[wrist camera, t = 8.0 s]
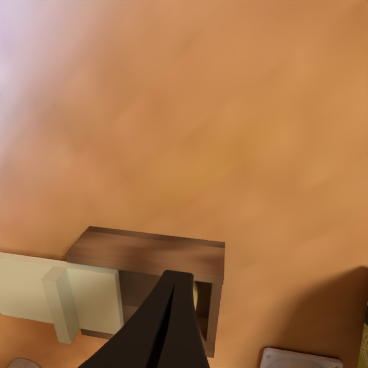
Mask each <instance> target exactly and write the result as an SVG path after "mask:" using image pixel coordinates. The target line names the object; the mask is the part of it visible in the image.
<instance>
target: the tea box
mask: <svg viewBox="0 0 368 368" xmlns="http://www.w3.org/2000/svg"><path fill="white" fill-rule="evenodd" d="M357 368H368V303H367V309H366V313H365V322H364V328H363V334H362V340H361V347H360V353H359V360H358V367H357Z"/></svg>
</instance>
